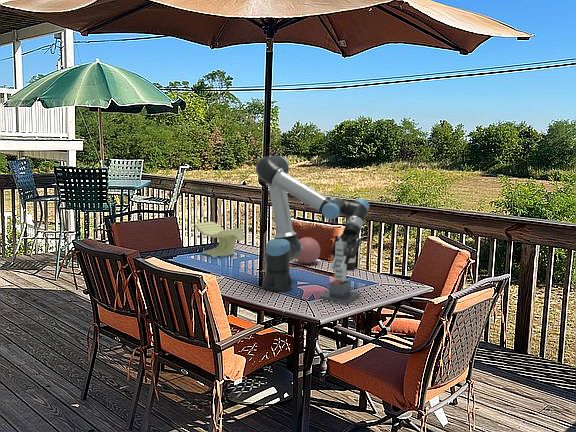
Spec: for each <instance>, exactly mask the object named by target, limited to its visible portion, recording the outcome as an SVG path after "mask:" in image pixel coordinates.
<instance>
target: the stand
mask: <svg viewBox="0 0 576 432" xmlns="http://www.w3.org/2000/svg"><path fill="white" fill-rule="evenodd" d="M351 283H352V282H351V280H346V283H344V284H341V281H335V279H333V280H332V281H330V282H329V290H328V291H326V292H323V294H320V295H319V300H320V299H323V300H328V301H333V302H340V303H345V304H348V303H350V302H351V303H353V302H355V301H356V300H357V298H358V299H359V297H361V293H360V292H355V291H351V286H352V285H351ZM355 299H356V300H355ZM354 300H355V301H354ZM328 301H327V302H328ZM352 301H353V302H352ZM333 302H332V303H333ZM351 303H350V304H351ZM348 305H349V304H348Z"/></svg>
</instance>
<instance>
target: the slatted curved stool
mask: <svg viewBox="0 0 576 432" xmlns="http://www.w3.org/2000/svg"><path fill="white" fill-rule="evenodd" d="M194 229H196V230H197V231H198V232H199V233H201V235H202V236H206V237H210V238H215V239H216V238H217V241H218V245H217V247H214V248H212V249H208V250H202V253H205V254H207V255H211V256H213V257H212V258H214V257H215V258H218V257H217V256H221V257H226V256H227V257H228V256H233V254H234V252H235V248H236V247H235V246H236V242H237V241H238V242H239V241H244V240H245V239H244V236H245V235H244V234H245V232H244V230H243V229H242V228H241V227H240V228H239V227H238V228H229V229H223V228H222V227H221V226H220V225H219V224H218V223H217V222H214V221H205V222H196V223H194ZM207 255H206V256H207ZM211 256H210V257H211Z"/></svg>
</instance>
